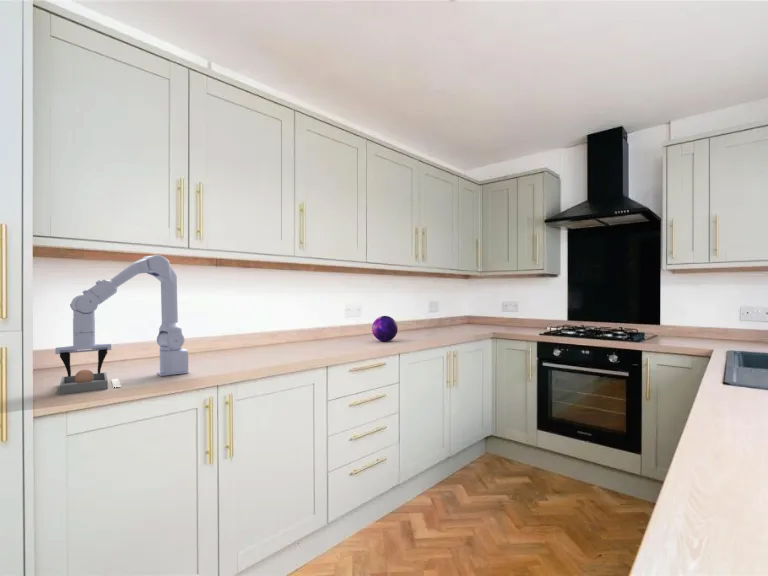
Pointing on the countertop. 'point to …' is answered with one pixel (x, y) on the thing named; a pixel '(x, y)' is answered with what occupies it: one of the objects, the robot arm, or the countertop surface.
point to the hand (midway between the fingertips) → (84, 374)
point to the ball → (84, 376)
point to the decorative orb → (384, 328)
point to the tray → (83, 384)
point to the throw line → (115, 383)
